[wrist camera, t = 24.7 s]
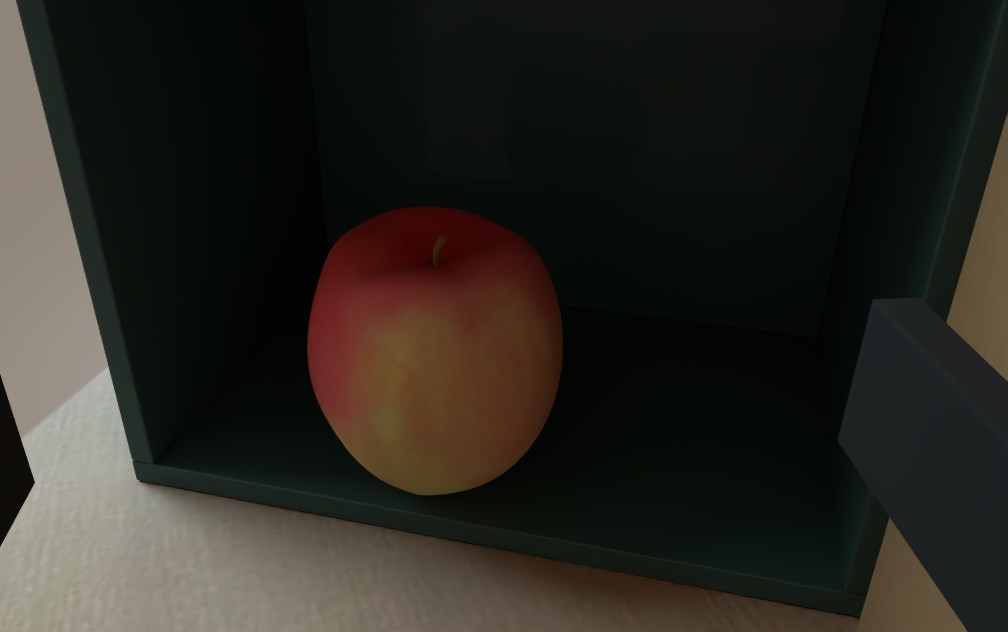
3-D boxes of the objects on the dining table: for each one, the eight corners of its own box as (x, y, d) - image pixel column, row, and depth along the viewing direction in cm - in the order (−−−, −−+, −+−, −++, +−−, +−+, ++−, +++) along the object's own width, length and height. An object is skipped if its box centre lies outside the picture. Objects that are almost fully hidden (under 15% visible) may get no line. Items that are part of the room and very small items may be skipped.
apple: (270, 474, 35) (233, 241, 30) (436, 371, 41) (427, 165, 36) (454, 593, 30) (446, 335, 25) (610, 454, 36) (629, 227, 31)
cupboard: (867, 619, 30) (1113, -205, 18) (136, 480, 36) (-39, -210, 24) (833, 348, 45) (955, -198, 33) (323, 281, 51) (272, -202, 39)
